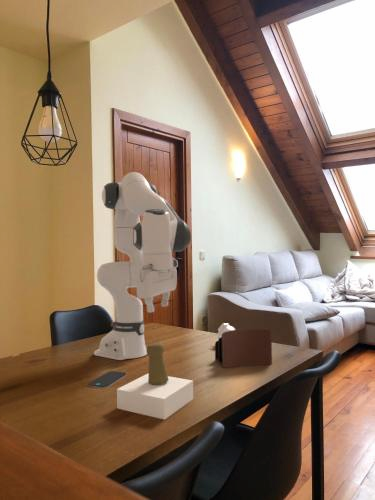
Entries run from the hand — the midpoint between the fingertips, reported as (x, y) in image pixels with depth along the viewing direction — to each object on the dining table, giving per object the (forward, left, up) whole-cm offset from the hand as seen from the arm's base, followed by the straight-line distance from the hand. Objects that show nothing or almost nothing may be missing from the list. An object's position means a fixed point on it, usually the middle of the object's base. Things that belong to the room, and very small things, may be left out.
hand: (158, 309), depth 124 cm
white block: (+1, -4, -28) cm, 28 cm away
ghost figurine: (+1, +65, -27) cm, 71 cm away
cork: (+1, -2, -21) cm, 21 cm away
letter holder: (+14, +44, -27) cm, 53 cm away
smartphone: (-24, +8, -28) cm, 38 cm away
